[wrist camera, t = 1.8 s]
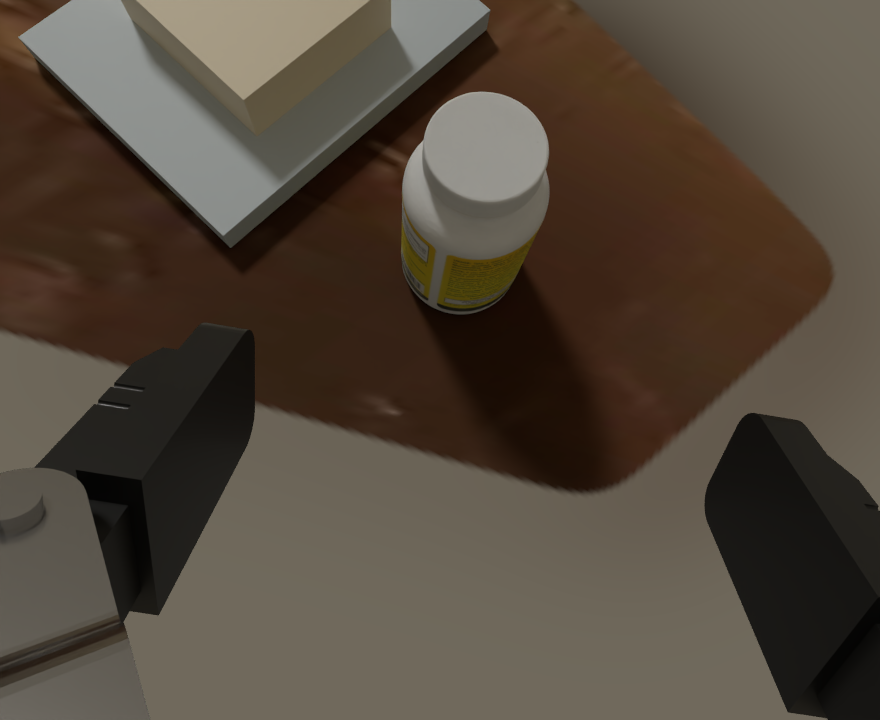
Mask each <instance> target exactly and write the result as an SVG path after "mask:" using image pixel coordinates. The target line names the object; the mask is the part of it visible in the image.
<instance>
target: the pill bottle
mask: <svg viewBox="0 0 880 720" xmlns="http://www.w3.org/2000/svg"><path fill="white" fill-rule="evenodd" d="M548 157H549V146H548V140H547V136H546V133H545V131H544V129H543V127H542V125H541V123H540V121H539V120H538V119H537V118H536V116H535V115H534V114H533V113H532V112H531V111H530V110H529V109H528V108H527V107H525V106H524V105H522V104H521V103H520V102H518V101H516V100H514V99H512V98H510V97H507V96H504V95H501V94H497V93H491V92H473V93H467V94H464V95H461V96H458V97H456V98H454V99H452V100H450V101H448V102H447V103H446V104H444V105H443V106H442V107H441V108H440V109H438V111H437V112H436V113H435V114H434V116H433V117H432V118H431V120H430V122H429V124H428V126H427V129H426V132H425V135H424V140H423V141H422V142H421V143H420V144H419V145H418V147H417V148H416V149H415V151H414V152H413V154H412V155H411V157H410V159H409V161H408V164H407V166H406V169H405V173H404V178H403V186H402V246H401V255H402V266H403V271H404V274H405V277H406V280H407V282H408V284H409V285H410V287H411V289H412V290H413V291H414V293H415V294H416V295H417V296H418V297H419V298H420V299H421V300H422V301H424V302H425V303H426V304H428V305H429V306H431V307H433V308H435V309H437V310H440V311H443V312H446V313H450V314H471V313H476V312H479V311H482V310H484V309H486V308H488V307H490V306H492V305H493V304H495V303H496V302H497V301H499V300H500V299H501V298H502V297H503V296H504V295H505V293H506V292H507V291H508V290H509V288H510V286H511V285H512V283H513V281H514V279H515V278H516V276H517V273H518V272H519V269H520V267H521V265H522V263H523V261H524V259H525V257H526V255H527V253H528V251H529V249H530V246H531V245H532V242H533V240H534V238H535V236H536V234H537V232H538V230H539V228H540V226H541V224H542V222H543V220H544V217H545V214H546V210H547V207H548V202H549V182H548V176H547V172H546V167H547V163H548Z"/></svg>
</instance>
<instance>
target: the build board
mask: <svg viewBox="0 0 880 720" xmlns="http://www.w3.org/2000/svg"><path fill="white" fill-rule="evenodd" d="M489 14H490V9H489V8H487V7H486V6H485V5H484V4H483V3H482V2H480V1H479V0H71V1H70V2H68V3H67V4H66V5H64V6H63V7H61V8H60V9H58V10H57V11H55V12H54V13H52V14H51V15H50V16H48V17H47V18H45V19H44V20H42V21H41V22H39V23H38V24H37V25H35V26H34V27H32V28H31V29H29V30H28V31H26V32H25V33H23V34H22V35H21V36H19V39H20V40H21V41H22V42H23V44H24V45H25V46H26V47H27V49H28V50H29V51H30V53H31V54H32V55H33V56H34V57H35V58H36V59H37V60H38V61H39V62H40V63H41V64H42V65H43V66H44V67H45V68H46V69H47V70H48V71H49V72H50V73H51V74H52V75H53V76H54V77H55V78H56V79H57V80H58V81H59V82H60V83H61V84H62V85H63V86H64V87H65V88H66V89H67V90H68V91H70V92H71V93H72V94H73V95H74V96H75V97H76V98H77V99H78V100H79V101H80V102H81V103H82V104H83V105H84V106H85V107H86V108H87V109H88V110H89V111H90V112H91V113H92V114H93V115H94V116H95V117H96V118H97V119H98V120H99V121H100V122H101V123H102V124H103V125H104V126H106V127H107V128H108V129H109V130H110V131H111V132H112V133H113V134H114V135H115V136H116V137H117V138H118V139H119V140H120V141H121V142H122V143H123V144H124V145H125V146H126V147H127V148H128V149H129V150H130V151H131V152H132V153H133V154H134V155H135V156H136V157H137V158H138V159H139V160H140V161H142V162H143V163H144V164H145V165H146V166H147V167H148V168H149V169H150V170H151V171H152V172H153V173H154V174H155V175H156V176H157V177H158V178H159V179H160V180H161V181H162V182H163V183H164V184H165V185H166V186H167V187H168V188H169V189H170V190H171V191H172V192H173V193H174V194H175V195H176V196H178V197H179V198H180V199H181V200H182V201H183V202H184V203H185V204H186V205H187V206H188V207H189V208H190V209H191V210H192V211H193V212H194V213H195V214H196V215H197V216H198V217H199V218H200V219H201V220H202V221H203V222H204V223H205V224H206V225H207V226H208V227H209V228H210V229H211V230H212V231H214V232H215V233H216V234H217V235H218V236H219V237H220V238H221V239H222V240H223V241H224V242H225V243H226V244H227V245H228V246H229V247H230V248H231V247H233V246H234V245H235V244H236V243H237V242H238V241H240V240H241V239H242V238H243V237H244V236H246V235H247V234H248V233H249V232H250V231H251V230H253V229H254V228H255V227H256V226H257V225H258V224H260V223H261V222H262V221H263V220H264V219H265V218H267V217H268V216H269V215H270V214H271V213H272V212H274V211H275V210H276V209H277V208H278V207H279V206H281V205H282V204H283V203H284V202H285V201H287V200H288V199H289V198H290V197H291V196H292V195H294V194H295V193H296V192H297V191H298V190H299V189H301V188H302V187H303V186H304V185H305V184H306V183H308V182H309V181H310V180H311V179H312V178H313V177H315V176H316V175H317V174H318V173H319V172H320V171H322V170H323V169H324V168H325V167H326V166H328V165H329V164H330V163H331V162H332V161H333V160H335V159H336V158H337V157H338V156H339V155H340V154H342V153H343V152H344V151H345V150H346V149H347V148H349V147H350V146H351V145H352V144H353V143H354V142H356V141H357V140H358V139H359V138H360V137H361V136H363V135H364V134H365V133H366V132H367V131H369V130H370V129H371V128H372V127H373V126H374V125H376V124H377V123H378V122H379V121H380V120H381V119H383V118H384V117H385V116H386V115H387V114H388V113H390V112H391V111H392V110H393V109H394V108H395V107H397V106H398V105H399V104H400V103H401V102H402V101H404V100H405V99H406V98H407V97H408V96H409V95H411V94H412V93H413V92H414V91H415V90H417V89H418V88H419V87H420V86H421V85H422V84H424V83H425V82H426V81H427V80H428V79H429V78H431V77H432V76H433V75H434V74H435V73H436V72H438V71H439V70H440V69H441V68H442V67H443V66H445V65H446V64H447V63H448V62H449V61H450V60H452V59H453V58H454V57H455V56H456V55H458V54H459V53H460V52H461V51H462V50H463V49H465V48H466V47H467V46H468V45H469V44H470V43H472V42H473V41H474V40H475V39H476V38H477V37H479V36H480V35H481V34H482V33H483V32H484V31H486V30H487V25H488V20H489Z"/></svg>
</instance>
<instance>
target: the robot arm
mask: <svg viewBox="0 0 880 720" xmlns="http://www.w3.org/2000/svg"><path fill="white" fill-rule="evenodd" d="M254 413H255V342H254V336H253V333H252V331H251V330H247V329H240V328H234V327H228V326H222V325H216V324H210V323H202V324H200V325H199V326H198V327H197V328H196V329H195V331H194V332H193V333H192V334H191V335H190V336H189V338H188V339H187V340H186V341H185V342H184V343H183V345H182V346H181V347H180V348H179V349H178V350H175V349H169V348H161V349H159V350H157V351H155V352H154V353H152V354H150V355H148V356H146V357H144V358H142V359H140V360H138V361H136V362H134V363H133V364H132V365H131V366H130V367H129V368H128V369H127V370H126V371H125V372H124V373H123V374H122V376H121V377H120V378H119V379H118V380H117V381H116V382H115V384H114V387H110V388H109V389H108V390H107V391H106V392H105V393H104V394H103V396H102V397H101V398H100V399H99V400H98V404H97V405H96V404H94V405H93V406H92V407H91V408H90V409H89V410H88V411H87V412H86V413H85V415H84V416H83V417H82V418H81V419H80V420H79V421H78V422H77V423H76V424H75V425H74V426H73V427H72V428H71V429H70V430H69V432H68V433H67V434H66V435H65V436H64V437H63V438H62V439H61V440H60V441H59V442H58V443H57V444H56V445H55V446H54V447H53V448H52V449H51V451H50V452H49V453H48V454H47V455H46V456H45V457H44V458H43V459H42V460H41V461H40V462H39V463H38V464H37V465H36V466H35V468H26V469H17V470H12V471H7V472H3V473H0V720H150V716H149V713H148V709H147V705H146V702H145V698H144V694H143V690H142V687H141V683H140V679H139V675H138V672H137V668H136V665H135V661H134V657H133V653H132V650H131V646H130V642H129V638H128V635H127V632H126V629H125V625H124V623H123V622H124V620H125V618H126V616H127V614H128V613H129V611H133V612H140V613H146V614H153V615H159V614H160V612H161V610H162V608H163V606H164V604H165V602H166V600H167V598H168V596H169V594H170V592H171V591H172V588H173V587H174V585H175V583H176V581H177V579H178V577H179V575H180V573H181V571H182V569H183V568H184V566H185V564H186V562H187V560H188V558H189V556H190V554H191V552H192V550H193V548H194V546H195V545H196V543H197V541H198V539H199V537H200V535H201V533H202V531H203V529H204V527H205V525H206V523H207V522H208V519H209V518H210V516H211V514H212V512H213V510H214V508H215V506H216V504H217V502H218V500H219V498H220V497H221V495H222V493H223V491H224V489H225V487H226V485H227V483H228V481H229V479H230V477H231V475H232V474H233V472H234V469H235V468H236V466H237V464H238V462H239V460H240V458H241V456H242V454H243V452H244V451H245V448H246V446H247V444H248V441H249V439H250V435H251V432H252V427H253V422H254ZM705 515H706V519H707V522H708V524H709V527H710V529H711V532H712V534H713V537H714V539H715V541H716V544H717V546H718V548H719V551H720V553H721V555H722V558H723V560H724V562H725V565H726V567H727V570H728V572H729V574H730V577H731V579H732V581H733V584H734V586H735V588H736V591H737V593H738V595H739V598H740V600H741V603H742V605H743V607H744V610H745V612H746V615H747V617H748V619H749V621H750V624H751V626H752V629H753V631H754V633H755V636H756V638H757V640H758V643H759V645H760V647H761V650H762V652H763V655H764V657H765V659H766V662H767V664H768V667H769V669H770V671H771V674H772V676H773V678H774V681H775V683H776V685H777V688H778V690H779V692H780V695H781V697H782V700H783V702H784V704H785V707H786V709H787V711H788V712H790V713H796V714H804V715H809V716H816V717H823V718H827V719H828V720H880V511H878V505H877V504H876V502H875V501H874V500H873V498H872V497H871V496H870V494H869V493H868V492H867V491H866V489H865V488H864V487H863V485H862V484H861V483H860V481H859V480H858V479H856V478H855V477H854V476H853V475H852V474H850V473H849V472H848V471H847V470H845V469H844V468H843V467H842V466H840V465H839V464H838V463H837V462H836V461H834V460H833V459H832V458H831V457H829V456H828V455H827V454H826V452H825V451H824V450H823V449H822V447H821V446H820V444H819V443H818V442H817V440H816V439H815V438H814V436H813V435H812V434H811V432H810V431H809V430H808V428H807V427H806V426H805V425H804V424H803V423H802V422H801V421H798V420H793V419H787V418H781V417H775V416H769V415H763V414H756V413H750V414H747V415H745V416H744V417H743V418H742V419H741V421H740V422H739V424H738V425H737V427H736V430H735V432H734V433H733V435H732V437H731V439H730V441H729V443H728V445H727V448H726V450H725V451H724V453H723V455H722V457H721V459H720V462H719V463H718V466H717V468H716V469H715V472H714V474H713V476H712V478H711V480H710V482H709V484H708V487H707V490H706V495H705Z"/></svg>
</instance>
